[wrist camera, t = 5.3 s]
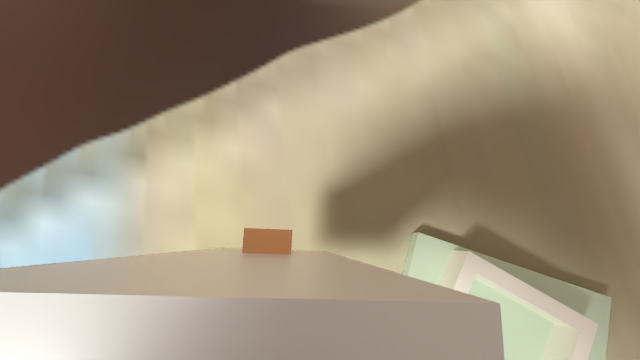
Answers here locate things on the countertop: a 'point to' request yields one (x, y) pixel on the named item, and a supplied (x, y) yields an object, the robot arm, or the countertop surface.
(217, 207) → the countertop surface
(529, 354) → the board
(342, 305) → the plug
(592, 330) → the white square frame
